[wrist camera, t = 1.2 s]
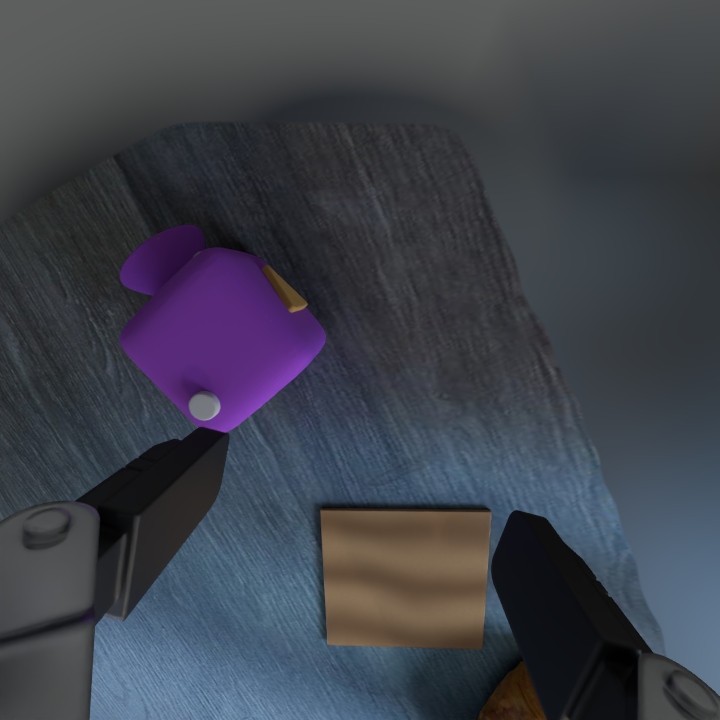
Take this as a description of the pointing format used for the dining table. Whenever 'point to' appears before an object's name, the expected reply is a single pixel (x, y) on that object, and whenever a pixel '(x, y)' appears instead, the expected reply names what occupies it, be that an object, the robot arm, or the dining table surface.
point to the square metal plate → (405, 576)
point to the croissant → (513, 699)
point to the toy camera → (215, 327)
